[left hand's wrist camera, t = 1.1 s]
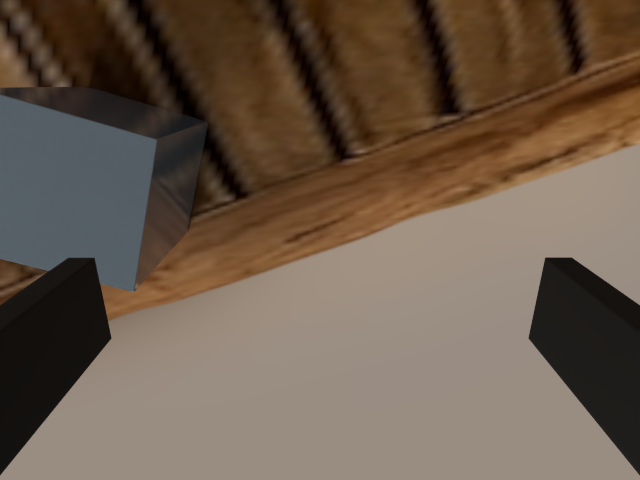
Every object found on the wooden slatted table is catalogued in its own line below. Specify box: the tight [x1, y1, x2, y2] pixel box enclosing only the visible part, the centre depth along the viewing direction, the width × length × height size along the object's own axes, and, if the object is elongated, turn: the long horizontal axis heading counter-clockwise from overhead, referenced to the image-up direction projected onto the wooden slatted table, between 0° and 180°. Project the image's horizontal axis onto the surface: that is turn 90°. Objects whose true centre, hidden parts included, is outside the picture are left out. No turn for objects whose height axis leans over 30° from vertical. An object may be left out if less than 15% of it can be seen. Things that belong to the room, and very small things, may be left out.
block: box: [0, 87, 208, 292], centre depth 26 cm, size 8×9×10 cm
